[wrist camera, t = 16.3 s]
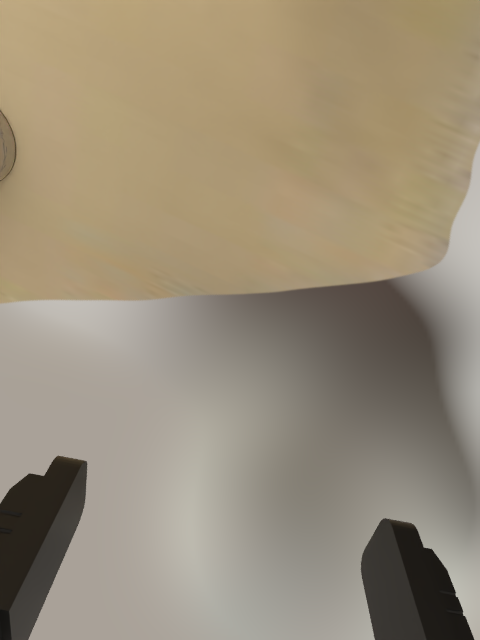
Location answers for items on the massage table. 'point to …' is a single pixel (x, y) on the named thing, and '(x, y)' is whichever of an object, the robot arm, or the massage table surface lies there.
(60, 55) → the massage table surface
